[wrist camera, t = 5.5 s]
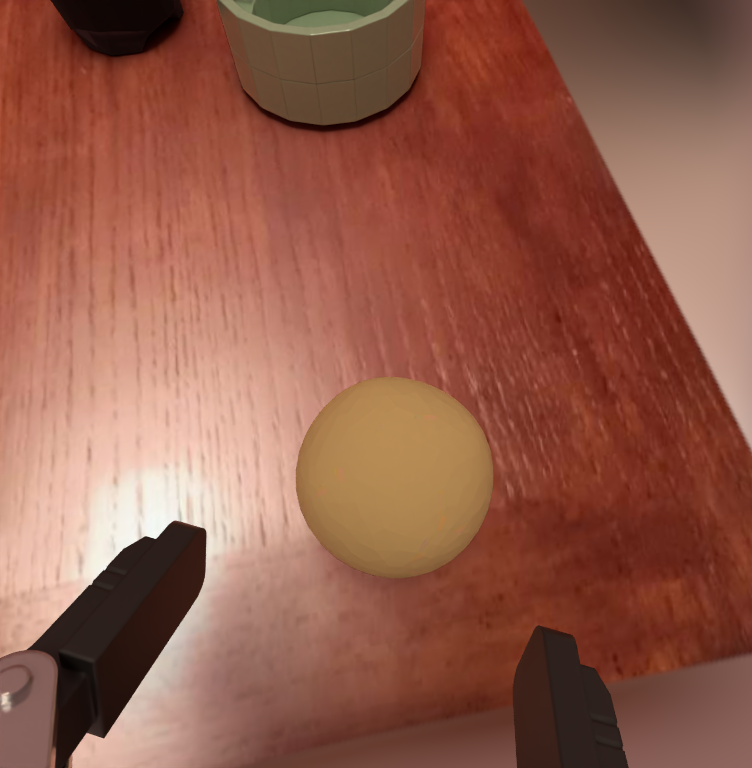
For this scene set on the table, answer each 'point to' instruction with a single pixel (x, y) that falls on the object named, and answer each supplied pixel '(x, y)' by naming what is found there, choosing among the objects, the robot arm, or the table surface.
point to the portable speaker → (116, 21)
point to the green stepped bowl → (325, 54)
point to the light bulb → (394, 477)
